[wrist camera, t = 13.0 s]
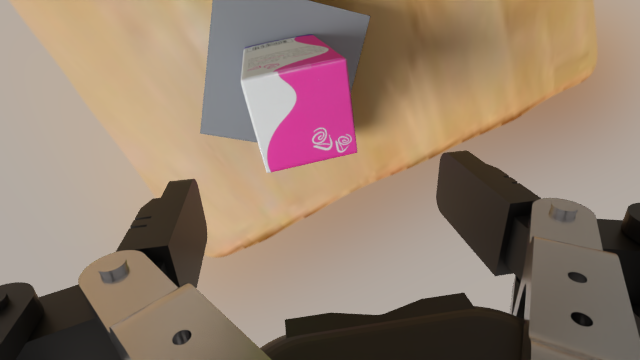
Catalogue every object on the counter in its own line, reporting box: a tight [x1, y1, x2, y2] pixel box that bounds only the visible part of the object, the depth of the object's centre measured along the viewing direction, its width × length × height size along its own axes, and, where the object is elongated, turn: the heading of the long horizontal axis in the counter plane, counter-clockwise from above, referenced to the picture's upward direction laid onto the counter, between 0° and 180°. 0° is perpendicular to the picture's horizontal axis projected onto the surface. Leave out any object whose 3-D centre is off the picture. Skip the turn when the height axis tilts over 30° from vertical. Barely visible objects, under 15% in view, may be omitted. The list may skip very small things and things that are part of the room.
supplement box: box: [241, 34, 357, 173], centre depth 25 cm, size 6×6×12 cm
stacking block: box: [200, 0, 370, 142], centre depth 33 cm, size 12×12×6 cm
